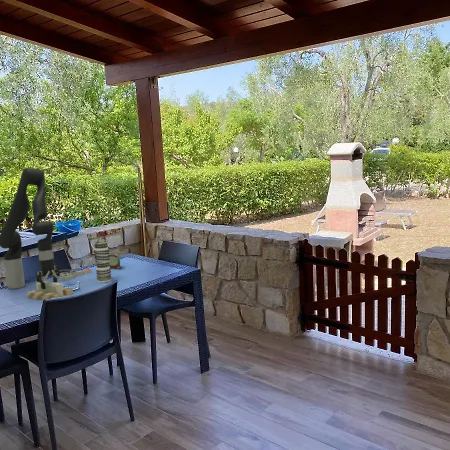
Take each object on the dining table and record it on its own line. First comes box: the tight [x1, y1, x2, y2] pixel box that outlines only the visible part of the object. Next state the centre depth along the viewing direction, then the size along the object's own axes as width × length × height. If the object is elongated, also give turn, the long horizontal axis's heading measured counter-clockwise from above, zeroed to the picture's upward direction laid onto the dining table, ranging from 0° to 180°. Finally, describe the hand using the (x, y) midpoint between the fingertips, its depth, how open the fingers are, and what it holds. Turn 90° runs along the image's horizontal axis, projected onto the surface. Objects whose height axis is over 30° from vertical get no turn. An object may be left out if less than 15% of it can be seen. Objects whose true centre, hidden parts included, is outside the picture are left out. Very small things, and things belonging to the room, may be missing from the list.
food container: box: [108, 252, 122, 271], centre depth 302 cm, size 12×6×10 cm, turn 58°
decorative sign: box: [57, 268, 92, 282], centre depth 290 cm, size 22×2×20 cm
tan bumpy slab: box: [27, 287, 74, 301], centre depth 248 cm, size 20×13×3 cm, turn 66°
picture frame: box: [35, 280, 64, 296], centre depth 247 cm, size 16×4×7 cm, turn 66°
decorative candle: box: [93, 238, 112, 283], centre depth 271 cm, size 9×9×25 cm
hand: (49, 286), depth 247 cm, fingers open, 8 cm apart
